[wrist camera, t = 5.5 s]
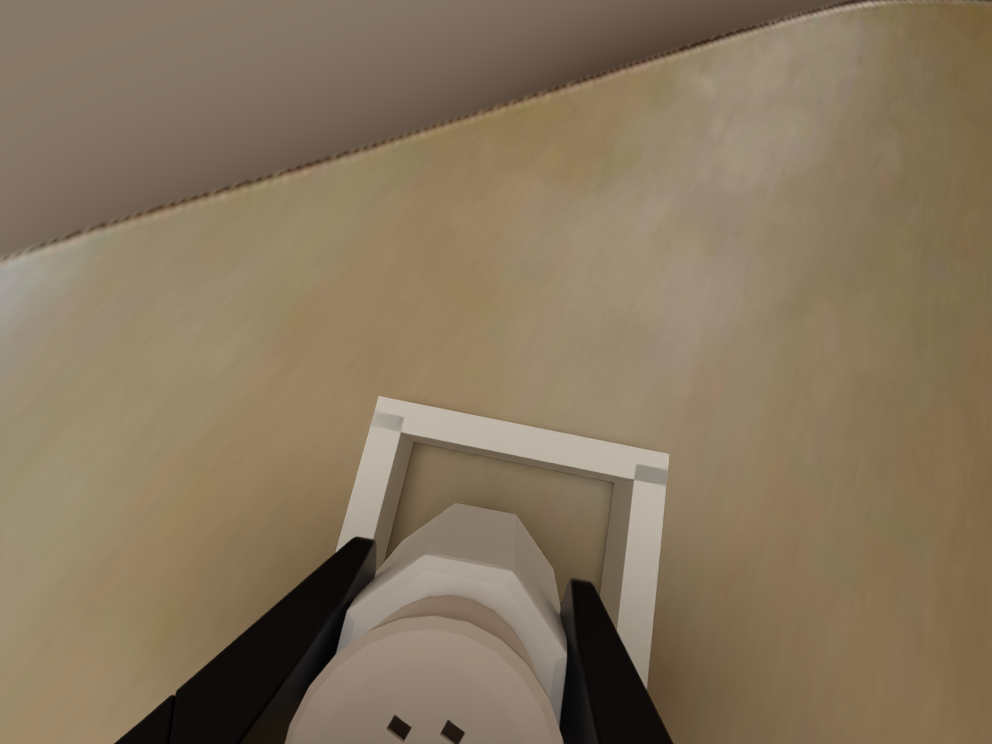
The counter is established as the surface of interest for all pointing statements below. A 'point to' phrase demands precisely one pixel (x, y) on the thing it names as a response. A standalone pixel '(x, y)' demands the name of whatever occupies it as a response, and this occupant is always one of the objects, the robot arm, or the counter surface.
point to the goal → (627, 467)
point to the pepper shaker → (447, 644)
